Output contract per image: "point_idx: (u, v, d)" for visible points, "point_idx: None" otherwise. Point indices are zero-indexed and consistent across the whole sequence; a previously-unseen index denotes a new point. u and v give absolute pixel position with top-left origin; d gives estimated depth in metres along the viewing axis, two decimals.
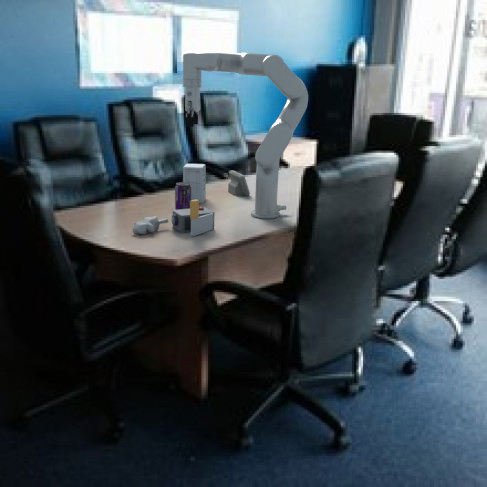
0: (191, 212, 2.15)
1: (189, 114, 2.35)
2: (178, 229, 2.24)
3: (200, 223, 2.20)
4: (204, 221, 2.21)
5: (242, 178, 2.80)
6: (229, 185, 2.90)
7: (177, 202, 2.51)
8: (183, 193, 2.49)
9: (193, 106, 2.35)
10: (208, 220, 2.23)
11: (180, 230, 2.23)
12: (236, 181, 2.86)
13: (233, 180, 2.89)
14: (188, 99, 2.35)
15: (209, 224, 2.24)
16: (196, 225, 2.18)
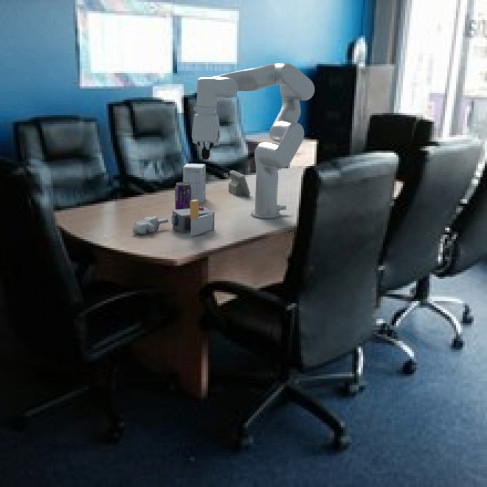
0: (191, 212, 2.15)
1: None
2: (178, 229, 2.24)
3: (200, 223, 2.20)
4: (204, 221, 2.21)
5: (242, 178, 2.80)
6: (229, 185, 2.90)
7: (177, 202, 2.51)
8: (183, 193, 2.49)
9: None
10: (208, 220, 2.23)
11: (180, 230, 2.23)
12: (236, 181, 2.86)
13: (233, 180, 2.89)
14: None
15: (209, 224, 2.24)
16: (196, 225, 2.18)
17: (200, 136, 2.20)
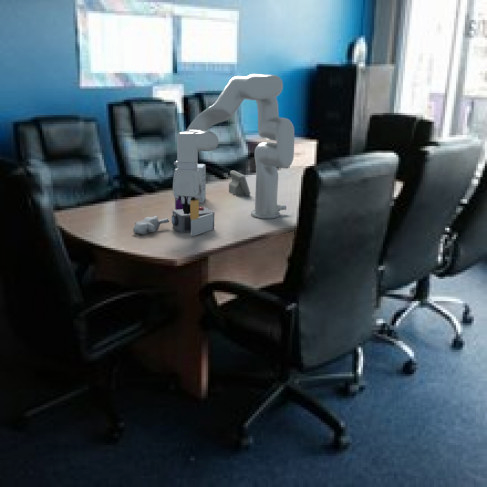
0: (191, 212, 2.15)
1: None
2: (178, 229, 2.24)
3: (200, 223, 2.20)
4: (204, 221, 2.21)
5: (242, 178, 2.80)
6: (230, 185, 2.90)
7: (177, 202, 2.51)
8: None
9: None
10: (208, 220, 2.23)
11: (180, 230, 2.23)
12: (237, 181, 2.86)
13: (234, 180, 2.89)
14: None
15: (209, 224, 2.24)
16: (196, 225, 2.18)
17: (181, 191, 2.14)
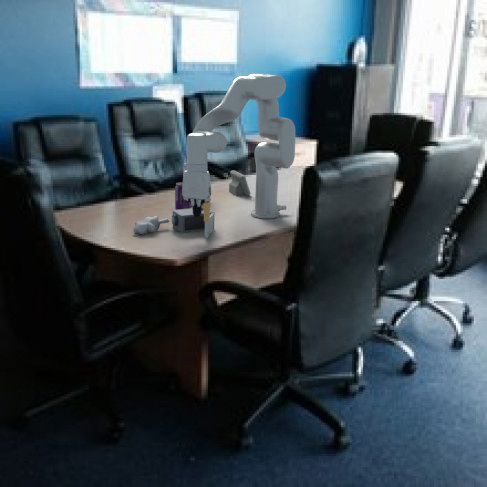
0: (205, 214, 2.13)
1: None
2: (178, 229, 2.24)
3: (209, 224, 2.18)
4: (210, 221, 2.21)
5: (242, 178, 2.80)
6: (230, 185, 2.90)
7: (177, 202, 2.51)
8: None
9: None
10: (212, 220, 2.23)
11: (180, 230, 2.23)
12: (237, 181, 2.86)
13: (234, 180, 2.89)
14: None
15: (212, 224, 2.24)
16: (208, 227, 2.16)
17: (191, 193, 2.11)
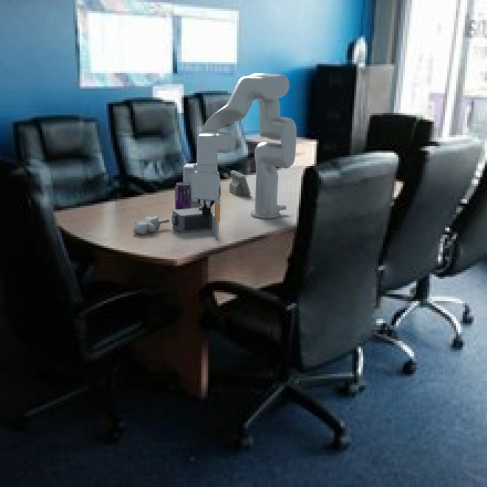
0: (217, 214, 2.13)
1: None
2: (178, 229, 2.24)
3: None
4: None
5: (243, 178, 2.80)
6: (230, 185, 2.90)
7: (177, 202, 2.51)
8: (183, 193, 2.49)
9: None
10: None
11: (180, 230, 2.23)
12: (237, 181, 2.86)
13: (234, 180, 2.89)
14: None
15: None
16: None
17: (200, 194, 2.10)
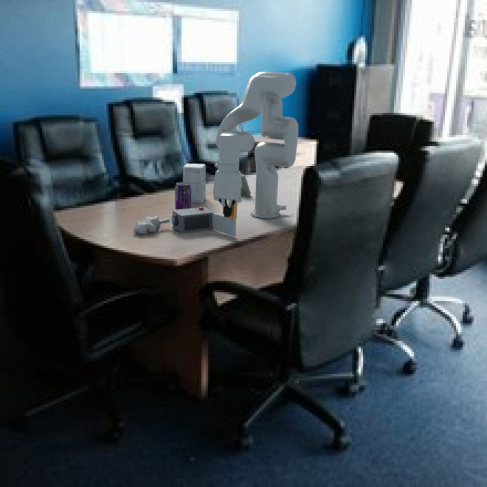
0: (235, 213, 2.16)
1: None
2: (178, 229, 2.24)
3: None
4: None
5: (243, 178, 2.80)
6: None
7: (177, 202, 2.51)
8: (183, 193, 2.49)
9: None
10: None
11: (180, 230, 2.23)
12: None
13: None
14: None
15: None
16: None
17: (222, 194, 2.11)
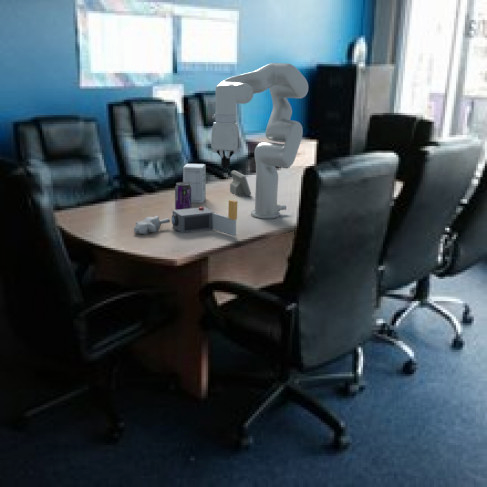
0: (235, 213, 2.16)
1: None
2: (178, 229, 2.24)
3: None
4: None
5: (243, 178, 2.80)
6: (231, 185, 2.90)
7: (177, 202, 2.51)
8: (183, 193, 2.49)
9: None
10: None
11: (180, 230, 2.23)
12: (237, 181, 2.86)
13: (235, 180, 2.89)
14: None
15: None
16: None
17: (220, 145, 2.13)
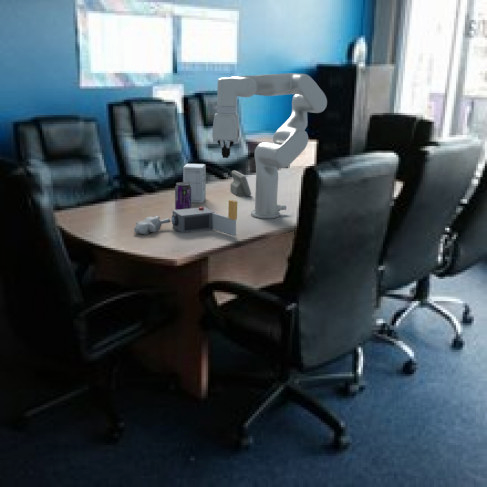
0: (235, 213, 2.16)
1: None
2: (178, 229, 2.24)
3: None
4: None
5: (243, 178, 2.80)
6: (231, 185, 2.90)
7: (177, 202, 2.51)
8: (183, 193, 2.49)
9: None
10: None
11: (180, 230, 2.23)
12: (238, 181, 2.86)
13: (235, 180, 2.89)
14: None
15: None
16: None
17: (220, 135, 2.25)
